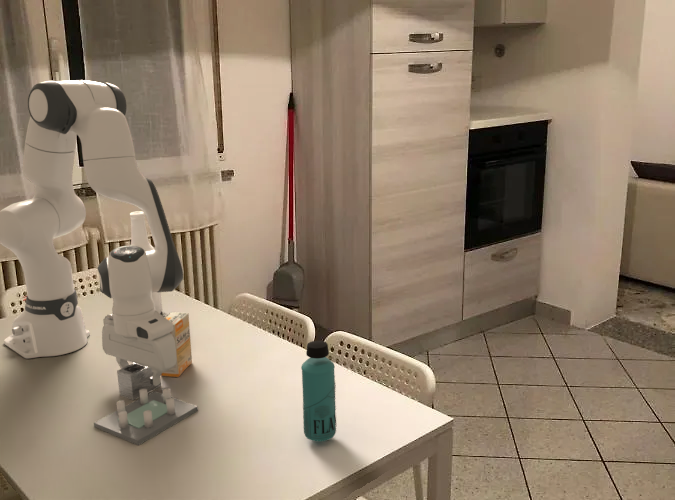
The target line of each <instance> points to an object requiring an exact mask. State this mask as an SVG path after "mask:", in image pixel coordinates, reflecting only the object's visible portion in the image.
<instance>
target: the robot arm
mask: <svg viewBox="0 0 675 500" xmlns="http://www.w3.org/2000/svg"><path fill="white" fill-rule="evenodd" d="M27 109H28V113H29V115H30V117H29V120H28V124H27V129H26V135H25V142H24V148H23V149H24V151H23V159H22V160H23V161H22V169H21V170H22V174H23V176H24V177H25V178H26V179H27V180H28V181H30V183H32V184H33V186H34V193H33V197H32V198H29V199H26V200H22V201H18V202H14V203H11V204H9V205H8V206H5V207H4V208H2V209H1V210H0V245H1V246H2V247H4V248H6V249H8V250H10V251H11V252H12V253H13V254H14V256H15V257H16V258H17V260H18V262H19V264H20V265H21V268H22V271H23V272H22V273H23V276H24V281H25V287H26V293H27V295H25V296H22V298H23V299H22V301H23V302H25V305H24V310H23V311H21V313H20V314H18V316H16V317H15V318H14V319H13V321H12V323H11V328H12V329H11V333H12V334H10V335H8V336H7V337H6V338H5V339H4V340H3V345H5V346H7V348H10V349H11V350H12V351H13V352H15V353H17V354H18V355H19V356H21V357H23V358H24V359H34V358H40V357H42V358H43V357H55V356H61V355H65V354H69V353H72V352H75V351H78V350H80V349H81V348H83V347H85V346H86V345H87V344H88V341H89V340H88V337H89V336H90V334H91V332H90V330H89V329H86V324H85V319H84V316H83V315H84V314H83V310H82V308H81V306H79V305H78V304H79V301H78V294H77V290H76V289H75V285H74V278H73V270H72V264H71V261H70V260H69V259H68V258H67V257H65V256H64V255H61V254H59V253H58V252H57V250H56V248H55V245H54V240H55V239H57V238H60V237H63V236H66V235H69V234H70V233H72V232H74V231H76V230H77V229H78V228H79V227H81V226H82V225H83V224H84V222H85V221H86V216H87V210H86V206H85V204H84V202H83V200H82V199H81V198H80V197H79V196H78V195H77V194H76V192H75V189H74V184H73V173H74V172H73V170H74V162H75V154H76V146H77V136H78V138H79V140H80V143H81V153H82V160H83V168H84V173H85V177H86V181H87V183H88V186H89V187H90V188H91V189H92V190H93V191H94V192H95V193H97V194H98V195H100V196H102V197H104V198H106V199H110V200H113V201H115V202H116V201H117V202H121V203H124V204H128V205H132V206H134V207H137V208H138V209H139V210H141V211H142V212H143V213H144V216H145V219H146V220H147V224H148V227H149V228H148V229H149V231H150V234H151V237H152V240H153V243H154V249H153V250H149V251H145V250H144V249H142V248H140V247H137V246H130V245H123V246H118V247H115V248H114V249H112V250H111V251H110V252H109V255H108V256H106V257H104V258H103V260H102V261H101V262H100V263H99V265H98V266H97V272H98V274H99V291H100V292H101V293H102V294H103V295H104V296H106V297H108V298H109V299H112V309H111V311H112V312H111V313H112V314H107V315H105V316H104V317H103V320H102V321H103V325H102V331H101V341H102V342H101V344H102V345H101V346H102V350H103V352H104V353H105V354H106V355H108V356H111V357H114V358H115V360H116V363H117V364H118V366H119V367H120V369H122V368H124V367H126V366H128V365H130V364H129V363H128V362H131V363H137V364H140V365H143V366H146V367H150V368H152V372H154V374H153V376H152V377H150V384H152V385H155V386H157V385H159V384H160V383H161V384H162V381H161V379H162V378H161V377H162V376H161V374H162V372H164V371H167V370H169V369H171V368H173V367H174V366H175V364H176V362H177V357H176V347H175V341H174V338H173V336H172V334H171V333H170V332H172V331H173V324H172V322H170V321H169V320H167V319H166V318H165V317H166V316H165V317H164V316H163V315H162V313H158V312H157V311H156V310H155V306H154V302H153V300H152V293H153V292H161V293H167V292H168V293H169V292H170V293H171V292H173V291H174V290H175V289H177V287H178V286H180V284H181V283H182V281H183V280H184V266H183V263H182V261H181V258H180V255H179V254H178V251H177V248H176V246H175V243H174V240H173V236H172V233H171V230H170V226H169V223H168V220H167V217H166V213H165V211H164V208H163V203H162V201H161V198H160V195H159V192H158V189H157V187H156V185H155V184H154V181H152V179H149V178H148V177H147V178H146V176H144V174H143V173H142V172H141V169H140V168H139V166H138V163H137V159H136V151H135V147H134V141H133V136H132V133H131V129H130V126H129V123H128V120H127V117H126V113H127V101H126V96H125V94H124V92H123V90H121V88H120V87H118V86H117V85H115V84H112V83H111V82H110V83H109V82H105V81H99V82H98V81H93V80H85V79H84V80H83V79H76V80H58V81H56V80H46V81H41V82H38V83H36V84H34V85H33V87H31V90H30V92H29V94H28V97H27Z"/></svg>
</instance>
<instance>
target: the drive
mask: <svg viewBox="0 0 675 500" xmlns="http://www.w3.org/2000/svg"><path fill="white" fill-rule="evenodd" d="M116 373H117V381H118V383H117V384H118V390H119V392H118V393H119V396H121V397H123V398H127V399H129V400H132V401H136V400H138V399H140V393H139V390H141V389H147V393H148V394H149V393H151V392H153V391H154V390H156V389H158V388H160V387H161V386H162V382H161V383H160V384H159V385H157V386H155V385H152V384H150V377H152V376H153V374H154V372H152V368H150V367H146V366H143V365H140V364H137V363H134V362H132V363H131V364H129V365H128V366H126V367H124V368H122V369H121V368H120V369H118V370H116Z"/></svg>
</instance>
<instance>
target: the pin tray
mask: <svg viewBox="0 0 675 500" xmlns="http://www.w3.org/2000/svg"><path fill="white" fill-rule="evenodd" d="M171 392H172V391H171V388H169V387H165V388H163V389H162V393H160V392H158V391H156V390H155V391H154V390H153V391H151V392H148V393H147V389H141V390H139V393H140V397H139V398H137V399H135V400H133V402H131V403H128V404H127V405H126V402H125V400H121V399H120V400H117V401H116V403H115V404H116V410H115V411H113V412H111V413H109V414H107V415H105V416H104V417H102V418H100V419H97V420H96V421H94V422H93V426H94V428H95V429H98V430H100V431H103V432H105V433H107V434H110V435H112V436H116V437H117V438H120V439H122V440H124V441H127V442H129V443H132V444H134V445H137V446H140V445H142V444H143V443H145V442H146V441H149V440H150V439H151V438H153V437H155V436H156V435H158V434H160V433H162V432H164V431H165V430H167V429H169V428H170V427H172V426H174V425H176V424H177V423H179V422H180V421H183V420H184V419H186V418H187V417H189V416H191V415H193V414H194V413H196V412H198V405H195V404H192V403H189V402H186V401H184V400H181V399H178V398H175V397H172V393H171Z"/></svg>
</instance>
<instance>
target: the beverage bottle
mask: <svg viewBox="0 0 675 500" xmlns="http://www.w3.org/2000/svg"><path fill="white" fill-rule="evenodd" d="M305 353H306V356H307V357H308V358H307V359H306V360H305V361H304V362H303V363H302V364H301V368H300V369H301V379H302V380H301V386H302V417H303V418H302V419H303V420H302V421H303V427H302V428H303V434H304V436H305V437H306V439H308V440H310V441H312V442H327V441H329V440H332V439H333V438H334V436H335V435H336V433H337V425H338V424H337V414H336V409H337V408H336V403H337V402H336V391H337V390H336V389H337V387H336V380H335V379H336V375H335V363H334V362H333V360H331V359H330V358H328V356H329V354H330V352H329V344H328V343H327V342H326V341H324V340H313V341H310V342H308V343H307V344H306V352H305Z"/></svg>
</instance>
